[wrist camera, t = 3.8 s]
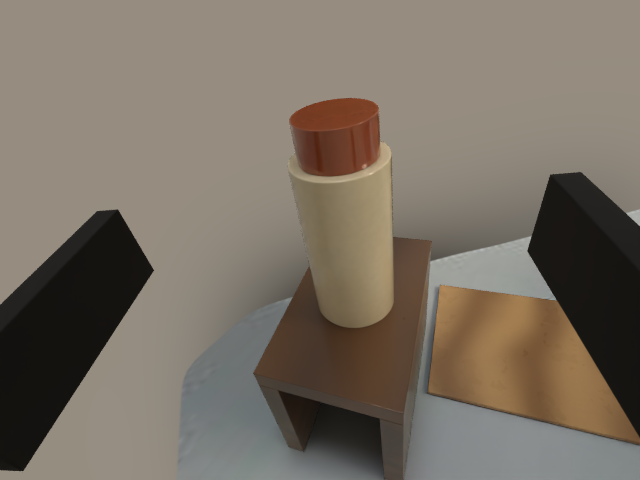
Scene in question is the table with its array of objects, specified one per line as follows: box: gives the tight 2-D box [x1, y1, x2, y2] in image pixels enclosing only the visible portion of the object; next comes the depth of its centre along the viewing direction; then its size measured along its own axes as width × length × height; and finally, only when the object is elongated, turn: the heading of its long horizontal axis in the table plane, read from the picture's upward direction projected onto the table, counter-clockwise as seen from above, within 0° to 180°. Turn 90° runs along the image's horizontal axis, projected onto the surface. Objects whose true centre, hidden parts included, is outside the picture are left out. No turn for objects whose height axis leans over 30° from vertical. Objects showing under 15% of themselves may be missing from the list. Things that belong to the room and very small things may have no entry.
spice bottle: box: [288, 98, 394, 328], centre depth 23 cm, size 6×6×14 cm
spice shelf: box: [253, 237, 432, 480], centre depth 31 cm, size 10×16×12 cm, turn 161°
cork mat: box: [428, 285, 640, 445], centre depth 34 cm, size 20×14×1 cm
